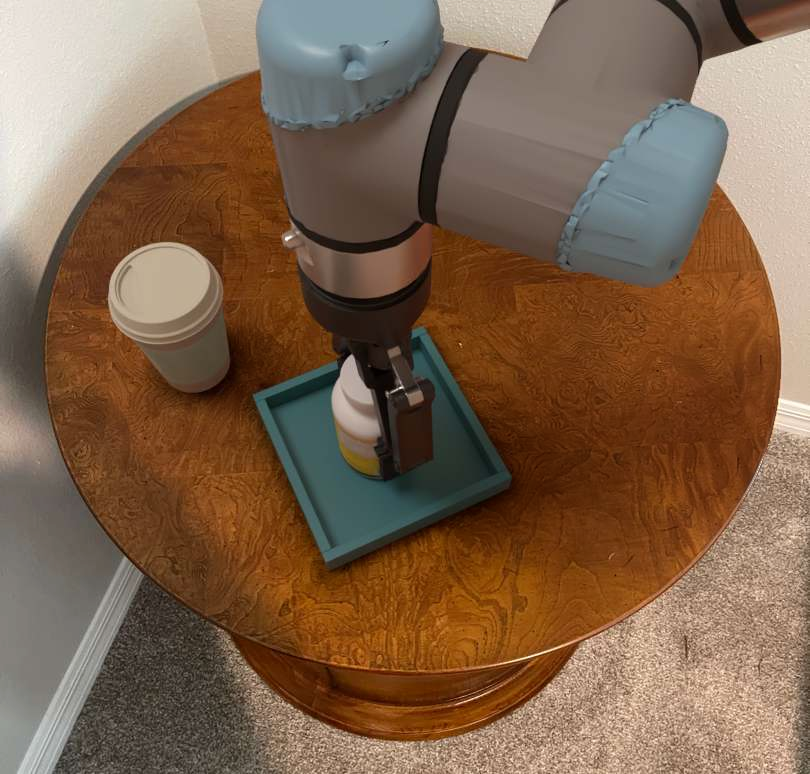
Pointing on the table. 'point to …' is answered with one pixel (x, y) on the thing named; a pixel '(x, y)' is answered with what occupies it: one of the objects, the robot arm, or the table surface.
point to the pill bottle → (356, 421)
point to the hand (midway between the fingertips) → (378, 433)
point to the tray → (368, 497)
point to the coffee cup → (173, 313)
